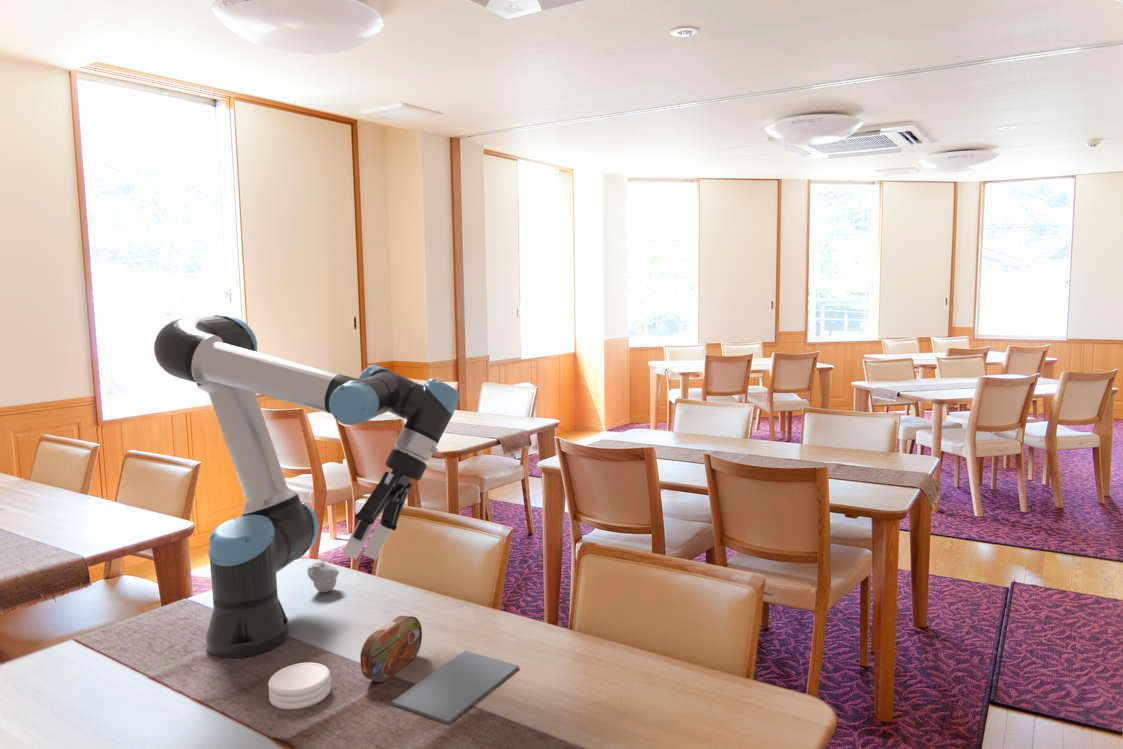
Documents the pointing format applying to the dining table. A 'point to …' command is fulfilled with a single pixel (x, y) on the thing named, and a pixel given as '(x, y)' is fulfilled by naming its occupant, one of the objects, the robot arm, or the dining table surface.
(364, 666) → the tin
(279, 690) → the white round stack
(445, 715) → the slate mat
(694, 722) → the dining table surface
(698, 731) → the dining table surface
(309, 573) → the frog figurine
